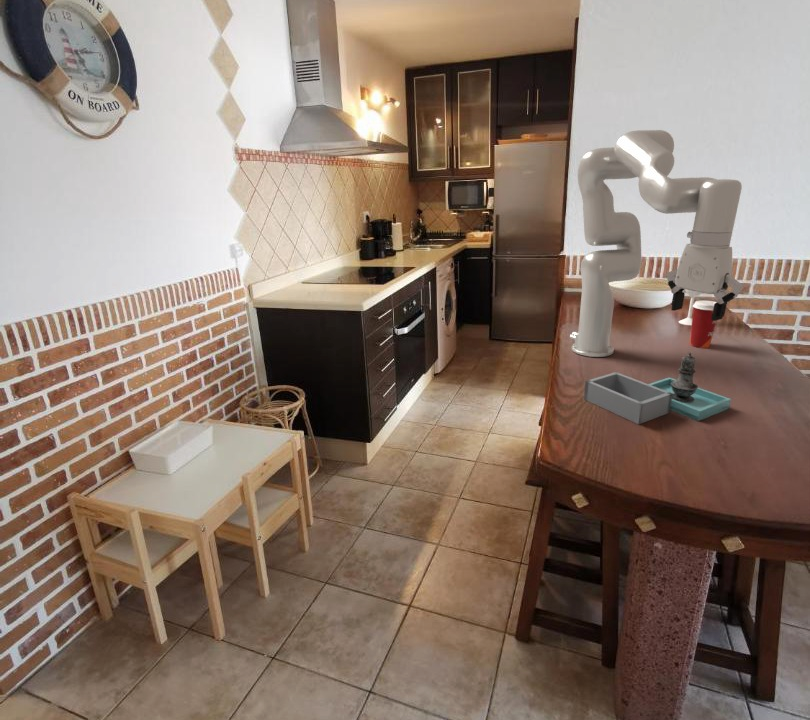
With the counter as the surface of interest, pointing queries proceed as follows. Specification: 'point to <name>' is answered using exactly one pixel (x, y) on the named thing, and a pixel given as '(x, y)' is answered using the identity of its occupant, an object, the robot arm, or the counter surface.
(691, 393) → the grey stone turned piece
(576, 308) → the counter surface
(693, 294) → the champagne flute
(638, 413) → the deep rectangular frame
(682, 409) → the tray
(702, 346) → the paper cup
